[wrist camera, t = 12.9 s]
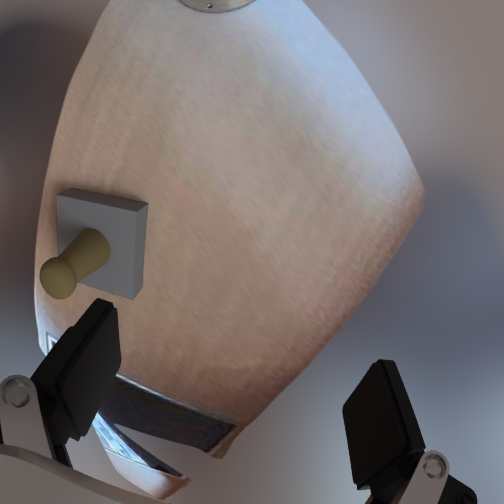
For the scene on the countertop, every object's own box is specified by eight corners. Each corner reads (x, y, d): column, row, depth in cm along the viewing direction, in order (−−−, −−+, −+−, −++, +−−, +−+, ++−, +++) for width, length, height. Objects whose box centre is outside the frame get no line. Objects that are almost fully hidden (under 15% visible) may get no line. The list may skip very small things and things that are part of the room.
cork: (95, 272, 40) (56, 314, 30) (71, 241, 38) (26, 276, 28) (118, 253, 38) (77, 295, 28) (92, 220, 36) (44, 253, 26)
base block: (71, 188, 38) (56, 194, 35) (148, 203, 39) (136, 212, 35) (73, 265, 44) (61, 276, 41) (142, 286, 45) (133, 300, 41)
